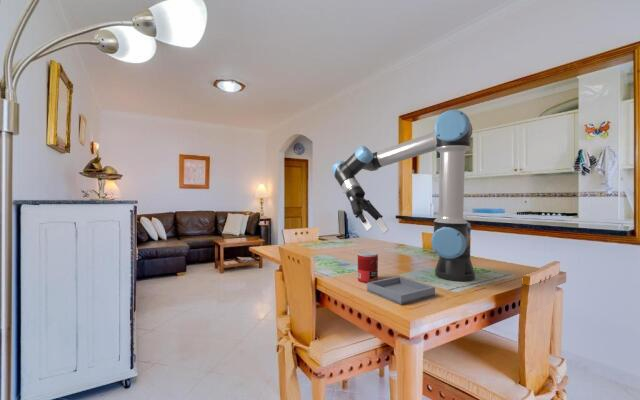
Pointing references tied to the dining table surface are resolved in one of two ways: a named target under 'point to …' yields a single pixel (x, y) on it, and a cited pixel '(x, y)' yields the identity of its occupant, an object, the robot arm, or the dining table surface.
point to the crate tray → (401, 290)
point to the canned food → (367, 266)
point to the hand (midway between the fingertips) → (378, 230)
